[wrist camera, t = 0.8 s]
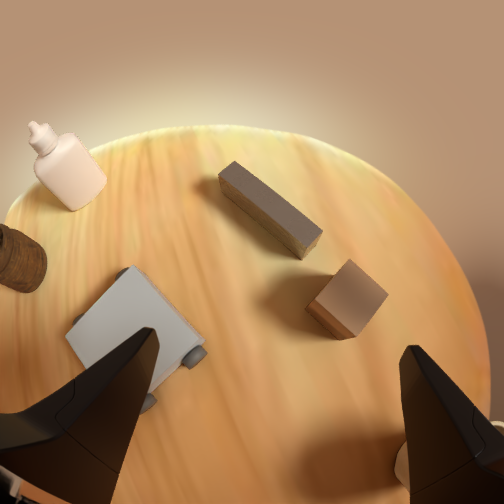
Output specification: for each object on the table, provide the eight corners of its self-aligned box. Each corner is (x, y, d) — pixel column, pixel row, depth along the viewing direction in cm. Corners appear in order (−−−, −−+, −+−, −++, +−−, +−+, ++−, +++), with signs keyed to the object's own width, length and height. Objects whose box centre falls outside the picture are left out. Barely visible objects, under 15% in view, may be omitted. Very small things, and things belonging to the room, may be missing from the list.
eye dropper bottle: (70, 184, 28) (16, 121, 17) (109, 169, 29) (60, 95, 18) (67, 215, 27) (3, 154, 16) (108, 200, 27) (49, 127, 16)
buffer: (301, 260, 25) (307, 248, 22) (221, 191, 27) (218, 174, 24) (316, 244, 25) (323, 230, 22) (236, 179, 28) (234, 160, 25)
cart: (141, 415, 20) (127, 421, 17) (77, 331, 22) (60, 328, 20) (213, 348, 22) (207, 347, 19) (139, 267, 25) (127, 256, 22)
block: (339, 340, 22) (356, 336, 18) (304, 309, 23) (314, 299, 19) (367, 305, 23) (388, 294, 19) (334, 275, 24) (349, 258, 20)
